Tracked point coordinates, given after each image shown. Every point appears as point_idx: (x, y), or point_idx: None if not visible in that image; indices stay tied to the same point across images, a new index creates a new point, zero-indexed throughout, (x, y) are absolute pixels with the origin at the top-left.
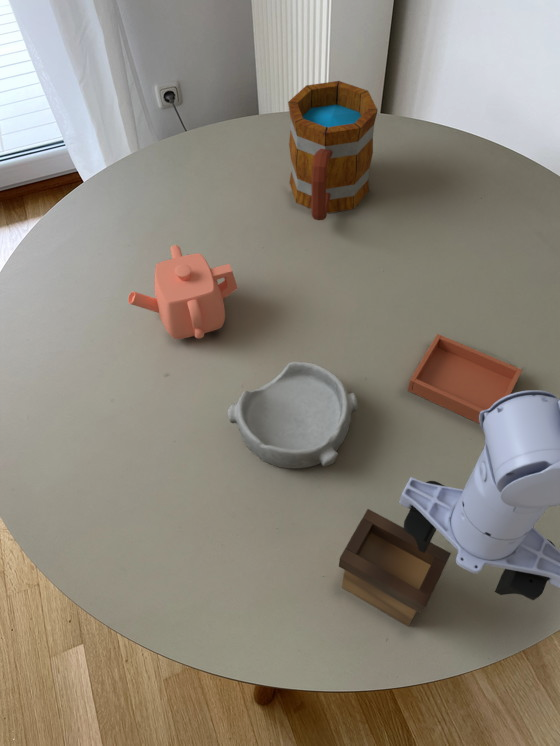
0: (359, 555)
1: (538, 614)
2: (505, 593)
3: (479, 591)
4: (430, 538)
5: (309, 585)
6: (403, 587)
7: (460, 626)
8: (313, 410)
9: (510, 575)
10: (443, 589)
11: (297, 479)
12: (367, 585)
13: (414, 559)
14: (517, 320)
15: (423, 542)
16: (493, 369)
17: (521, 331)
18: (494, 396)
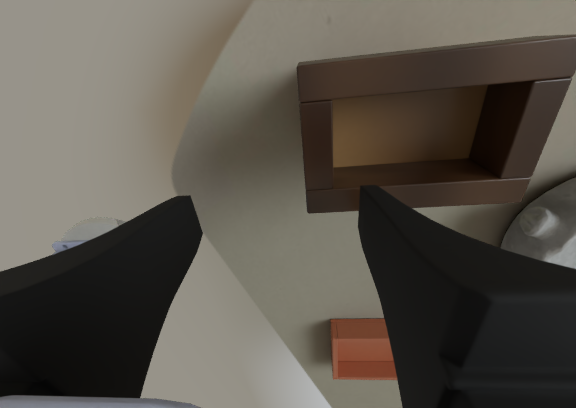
0: (482, 97)
1: (186, 184)
2: (147, 212)
3: (253, 170)
4: (372, 233)
5: (492, 14)
6: (372, 77)
7: (248, 114)
8: (567, 262)
9: (120, 283)
10: (292, 145)
11: (558, 165)
12: None
13: (362, 159)
14: (355, 394)
15: (410, 233)
16: (357, 364)
17: (347, 389)
18: (344, 345)
